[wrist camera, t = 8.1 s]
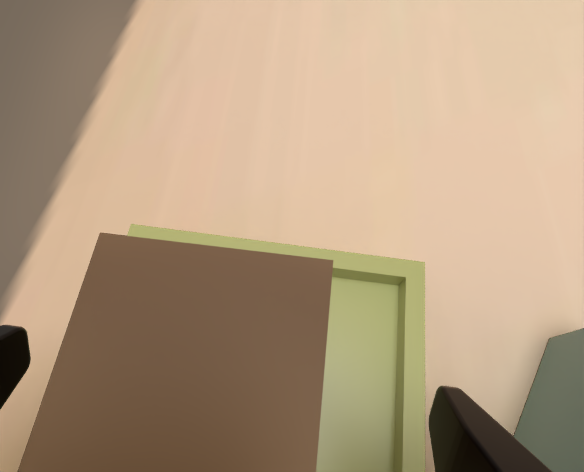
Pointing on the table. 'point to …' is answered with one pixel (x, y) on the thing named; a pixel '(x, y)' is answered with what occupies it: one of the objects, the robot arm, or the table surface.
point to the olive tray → (360, 355)
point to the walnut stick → (187, 363)
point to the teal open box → (557, 406)
